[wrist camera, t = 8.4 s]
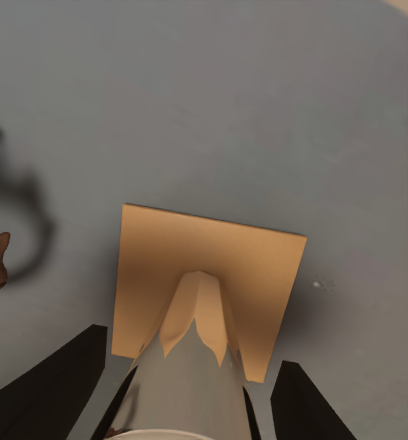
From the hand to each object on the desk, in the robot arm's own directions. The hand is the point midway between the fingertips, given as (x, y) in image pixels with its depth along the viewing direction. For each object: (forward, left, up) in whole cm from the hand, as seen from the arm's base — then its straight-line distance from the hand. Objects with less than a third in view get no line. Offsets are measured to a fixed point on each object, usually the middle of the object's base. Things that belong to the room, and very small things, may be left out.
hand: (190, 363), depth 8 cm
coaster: (0, 0, -4) cm, 4 cm away
